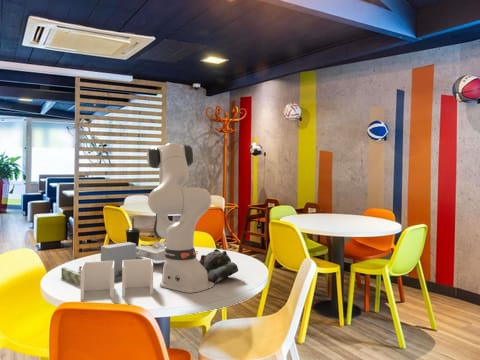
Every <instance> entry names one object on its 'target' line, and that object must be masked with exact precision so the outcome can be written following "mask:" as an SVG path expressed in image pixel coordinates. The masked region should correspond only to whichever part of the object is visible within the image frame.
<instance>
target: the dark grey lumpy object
mask: <svg viewBox="0 0 480 360" xmlns="http://www.w3.org/2000/svg"><path fill="white" fill-rule="evenodd" d="M198 261H199V262H200V263H201V264H202V266H203V267H205V269H206V270H207V273H208V281H210V282H213V283H215V284H217V283H218V282H220V281H222V280H223V279H226V278H228V277H231V276H232V275H234V274H236V273H238V272H239V267H238V265H237V264H236V263H234V262H232V259H231V258H230V255H228V253H227V251H226V250H222V251H220V249H217V248H215V249H214V250H213V251H210V252H209V253H207V254H205V255H204V254H202V255H201V256H200V259H199V260H198Z"/></svg>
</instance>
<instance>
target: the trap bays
mask: <svg viewBox="0 0 480 360" xmlns="http://www.w3.org/2000/svg"><path fill="white" fill-rule="evenodd" d="M81 268H82V266H79V269H78V270H79V272H81ZM119 282H122V272H119V273H118V274H114V283H119Z"/></svg>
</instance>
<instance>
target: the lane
mask: <svg viewBox="0 0 480 360" xmlns="http://www.w3.org/2000/svg"><path fill="white" fill-rule="evenodd" d="M119 272H122V271H119ZM61 278H62V279H64V280H66V281H69V282H70V283H73V284H75V285H77V286H81V271H74V270H72V269H70V268H67V267H66V266H65V267H61Z"/></svg>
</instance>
